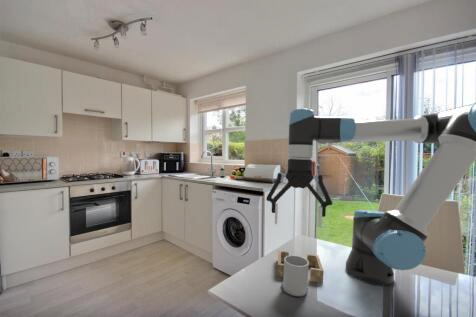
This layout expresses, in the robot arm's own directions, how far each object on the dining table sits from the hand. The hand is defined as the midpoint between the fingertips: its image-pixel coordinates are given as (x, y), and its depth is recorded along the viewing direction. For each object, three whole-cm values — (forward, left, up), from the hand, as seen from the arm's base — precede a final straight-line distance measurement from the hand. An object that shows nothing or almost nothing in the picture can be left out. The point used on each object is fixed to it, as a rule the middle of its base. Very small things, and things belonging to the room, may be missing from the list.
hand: (297, 224), depth 73 cm
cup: (0, +2, -19) cm, 19 cm away
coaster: (0, +2, -20) cm, 20 cm away
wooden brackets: (-2, -10, -20) cm, 22 cm away
